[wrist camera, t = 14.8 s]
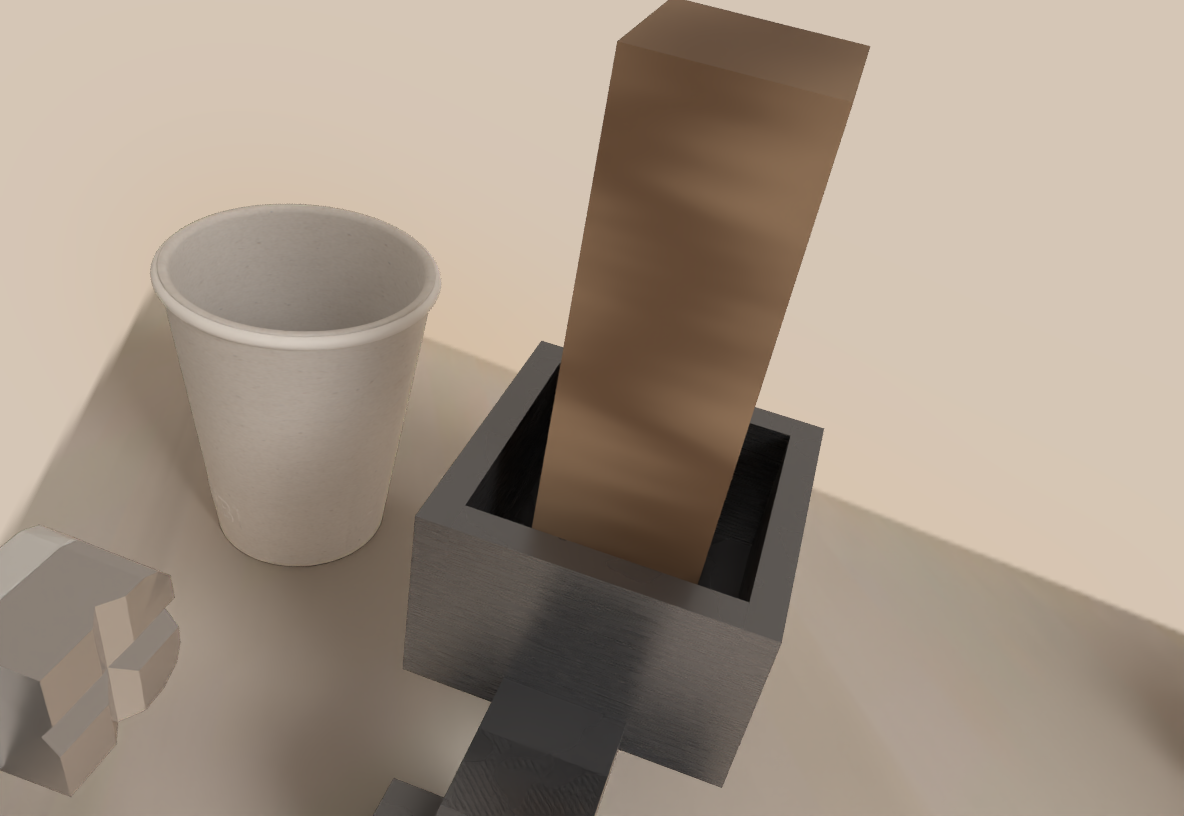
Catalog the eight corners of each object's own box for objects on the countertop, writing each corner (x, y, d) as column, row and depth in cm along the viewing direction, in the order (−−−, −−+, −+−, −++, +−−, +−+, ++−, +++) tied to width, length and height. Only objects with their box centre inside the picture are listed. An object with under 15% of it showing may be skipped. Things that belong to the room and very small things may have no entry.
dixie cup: (251, 635, 31) (237, 370, 25) (135, 485, 35) (100, 230, 29) (467, 532, 36) (496, 293, 30) (342, 412, 40) (347, 184, 35)
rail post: (704, 562, 27) (870, 46, 19) (670, 668, 24) (853, 102, 16) (567, 516, 28) (672, -4, 20) (517, 613, 25) (617, 41, 16)
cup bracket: (727, 682, 32) (823, 428, 26) (606, 1171, 21) (725, 924, 15) (499, 601, 33) (541, 340, 27) (269, 1022, 22) (254, 738, 16)
